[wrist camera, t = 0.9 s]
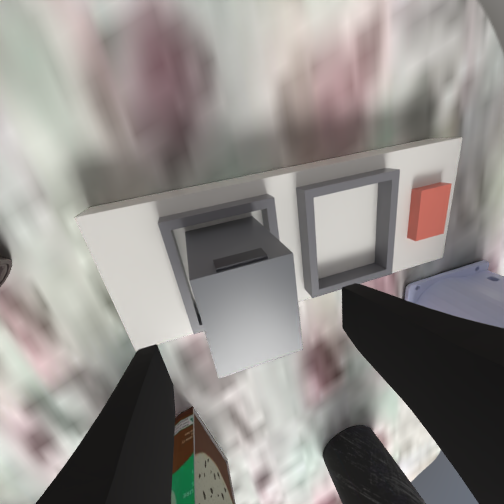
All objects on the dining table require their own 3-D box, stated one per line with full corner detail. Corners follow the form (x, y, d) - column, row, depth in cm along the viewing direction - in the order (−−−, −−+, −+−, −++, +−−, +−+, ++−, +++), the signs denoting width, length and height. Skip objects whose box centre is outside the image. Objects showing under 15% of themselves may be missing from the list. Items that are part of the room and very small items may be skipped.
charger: (251, 213, 15) (292, 249, 10) (263, 287, 17) (302, 349, 12) (184, 229, 14) (188, 277, 9) (205, 303, 17) (218, 378, 11)
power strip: (429, 138, 19) (481, 136, 16) (416, 247, 23) (457, 263, 20) (89, 207, 15) (64, 223, 12) (140, 327, 19) (132, 365, 15)
